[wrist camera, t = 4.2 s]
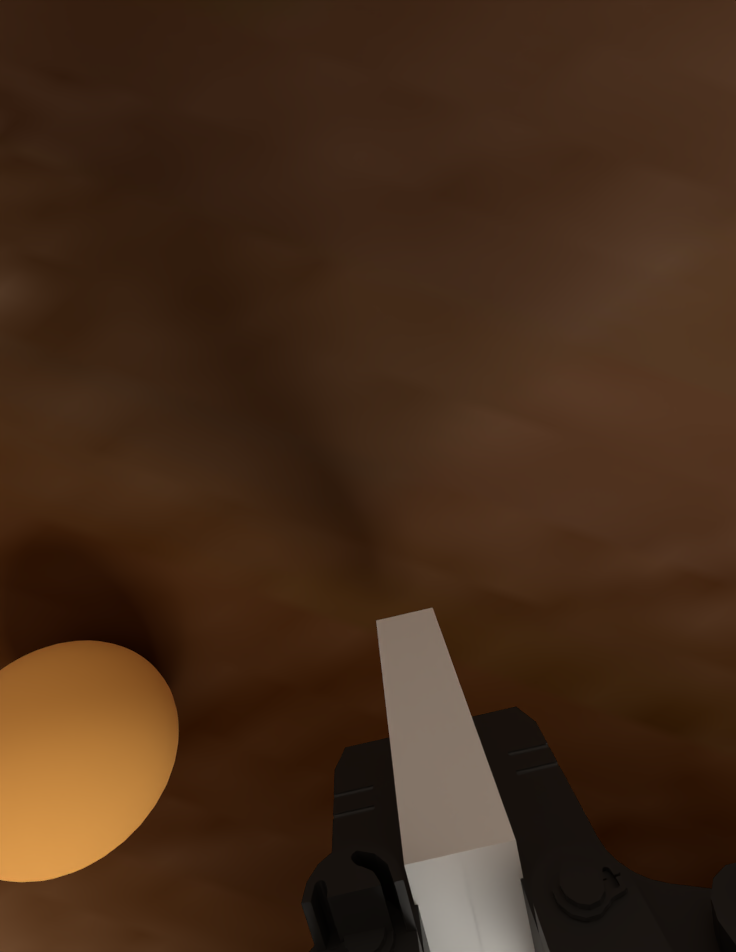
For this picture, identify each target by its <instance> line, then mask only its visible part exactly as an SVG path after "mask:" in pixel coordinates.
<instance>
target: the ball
mask: <svg viewBox="0 0 736 952" xmlns="http://www.w3.org/2000/svg"><path fill="white" fill-rule="evenodd" d="M178 738H179V722H178V714H177V709H176V706H175V702H174V698H173V695H172V693H171V691H170V688H169V686H168V685H167V683H166V681H165V680H164V678H163V677H162V676H161V674H160V673H159V672H158V670H157V669H156V668H155V667H154V666H153V665H152V664H151V663H150V662H149V661H147V660H146V659H145V658H143V657H142V656H141V655H139V654H137V653H135V652H134V651H132V650H130V649H127V648H125V647H122V646H119V645H116V644H112V643H107V642H102V641H91V640H84V641H71V642H64V643H58V644H55V645H51V646H48V647H45V648H42V649H39V650H36V651H34V652H31V653H29V654H27V655H25V656H23V657H21V658H19V659H17V660H15V661H14V662H12V663H10V664H9V665H7V666H5V667H4V668H3V669H1V670H0V880H4V881H11V882H32V881H44V880H49V879H54V878H57V877H61V876H64V875H67V874H70V873H73V872H76V871H78V870H80V869H83V868H85V867H86V866H88V865H90V864H92V863H94V862H96V861H97V860H99V859H101V858H103V857H104V856H106V855H107V854H108V853H110V852H111V851H112V850H114V849H115V848H116V847H117V846H119V845H120V844H121V843H123V842H124V841H125V840H126V839H127V838H128V837H129V836H130V835H131V834H132V833H133V832H134V831H135V830H136V829H137V828H138V827H139V826H140V825H141V824H142V822H143V821H144V820H145V818H146V817H147V816H148V814H149V813H150V812H151V810H152V809H153V808H154V806H155V805H156V803H157V801H158V800H159V798H160V796H161V794H162V792H163V790H164V788H165V787H166V785H167V782H168V780H169V777H170V774H171V771H172V768H173V766H174V763H175V758H176V752H177V747H178Z"/></svg>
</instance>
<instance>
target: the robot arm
mask: <svg viewBox="0 0 736 952" xmlns="http://www.w3.org/2000/svg"><path fill="white" fill-rule="evenodd" d="M376 624H377V632H378V641H379V650H380V659H381V667H382V676H383V685H384V694H385V702H386V711H387V720H388V728H389V738H385V739H381V740H376V741H372V742H368V743H363V744H359V745H354V746H350V747H346V748H345V749H344V752H343V754H342V756H341V758H340V760H339V762H338V764H337V766H336V768H335V776H334V798H335V799H334V807H333V815H334V819H333V838H332V853H331V854H330V855H328V856H327V857H326V858H325V859H324V860H323V861H321V862H320V863H319V864H318V865H317V867H316V868H315V870H314V872H313V873H312V875H311V876H310V878H309V880H308V881H307V883H306V887H305V891H304V895H303V898H302V902H301V904H302V907H303V910H304V913H305V916H306V920H307V923H308V926H309V929H310V932H311V935H312V938H313V941H314V944H315V945H314V947H313V948H312V949H311V950H310V952H736V863H732V864H729V865H725V866H724V867H723V868H722V870H721V871H720V872H719V873H718V874H717V875H716V876H715V877H714V878H713V884H712V889H711V888H702V887H694V886H686V885H677V884H669V883H664V882H660V881H656V880H651V879H649V878H646V877H644V876H642V875H639V874H637V873H635V872H633V871H631V870H630V869H628V868H627V867H625V866H624V865H622V864H621V863H619V862H618V861H617V860H616V859H615V858H614V857H613V856H612V855H611V854H610V853H609V852H608V851H607V850H606V849H605V847H604V846H603V845H602V843H601V842H600V840H599V839H598V837H597V835H596V833H595V832H594V830H593V828H592V826H591V824H590V822H589V820H588V818H587V817H586V815H585V813H584V811H583V809H582V807H581V805H580V804H579V802H578V800H577V798H576V796H575V794H574V792H573V790H572V789H571V787H570V785H569V783H568V781H567V779H566V777H565V776H564V774H563V772H562V770H561V768H560V766H558V764H557V761H556V759H555V757H554V755H553V753H552V751H551V749H550V748H549V747H548V744H547V742H546V740H545V738H544V736H543V734H542V733H541V731H540V729H539V727H538V725H537V723H536V722H535V721H534V720H533V719H531V718H530V717H529V716H528V715H526V714H525V713H524V712H522V711H521V710H520V709H519V708H517V707H513V708H508V709H504V710H499V711H495V712H491V713H486V714H482V715H478V716H473V717H472V716H471V714H470V711H469V708H468V705H467V703H466V700H465V697H464V694H463V691H462V689H461V686H460V683H459V680H458V677H457V675H456V672H455V669H454V666H453V663H452V661H451V658H450V655H449V652H448V649H447V647H446V644H445V641H444V638H443V635H442V633H441V630H440V627H439V624H438V622H437V619H436V616H435V613H434V610H433V608H429V609H424V610H420V611H416V612H411V613H407V614H402V615H398V616H394V617H389V618H385V619H381V620H376Z"/></svg>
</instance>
